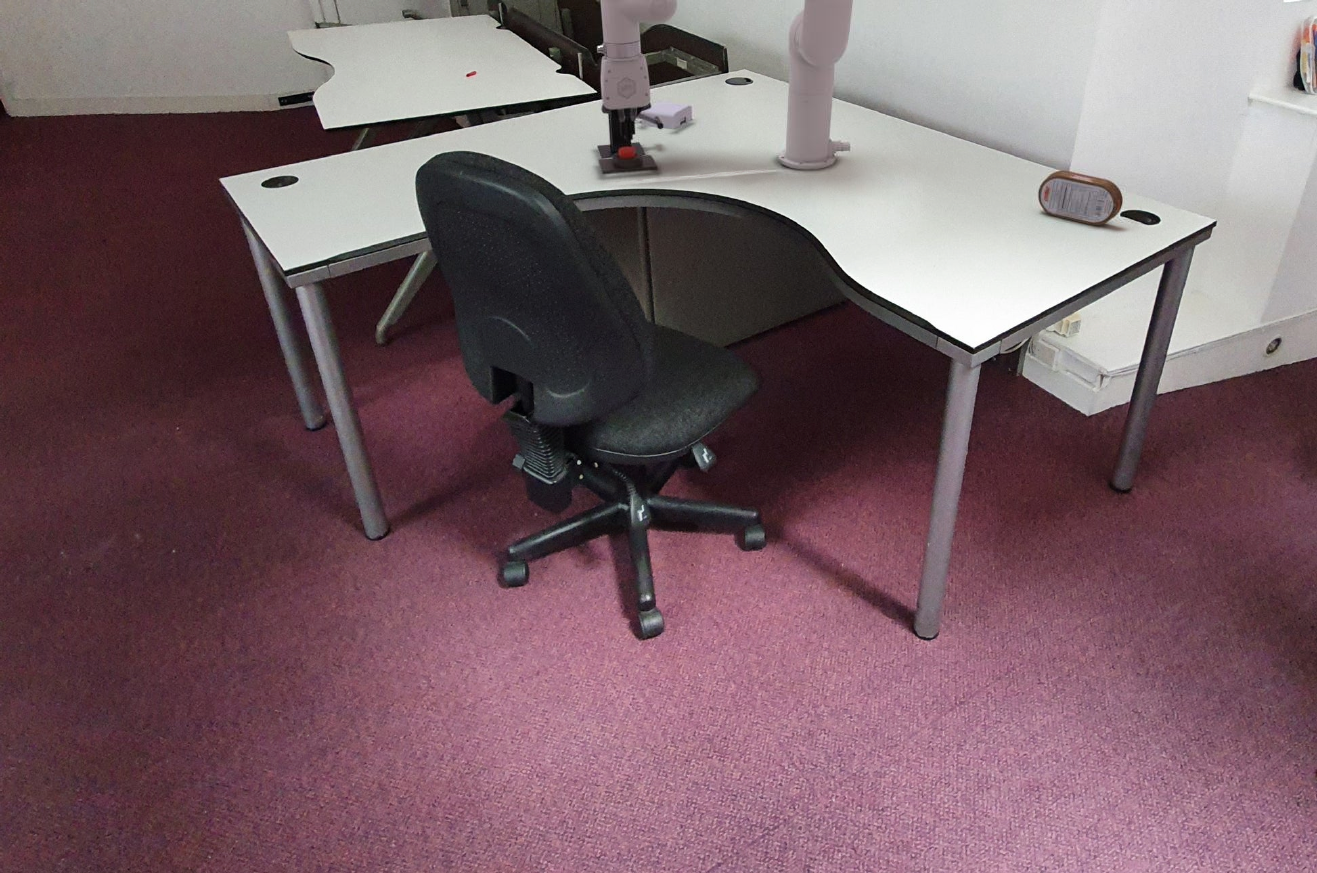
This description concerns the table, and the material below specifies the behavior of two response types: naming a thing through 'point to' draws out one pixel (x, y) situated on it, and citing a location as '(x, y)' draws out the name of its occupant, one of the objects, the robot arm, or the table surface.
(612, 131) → the bracket
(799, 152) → the robot arm
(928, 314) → the table surface
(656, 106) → the charger
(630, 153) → the button
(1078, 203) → the tin
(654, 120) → the lever
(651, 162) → the control block
